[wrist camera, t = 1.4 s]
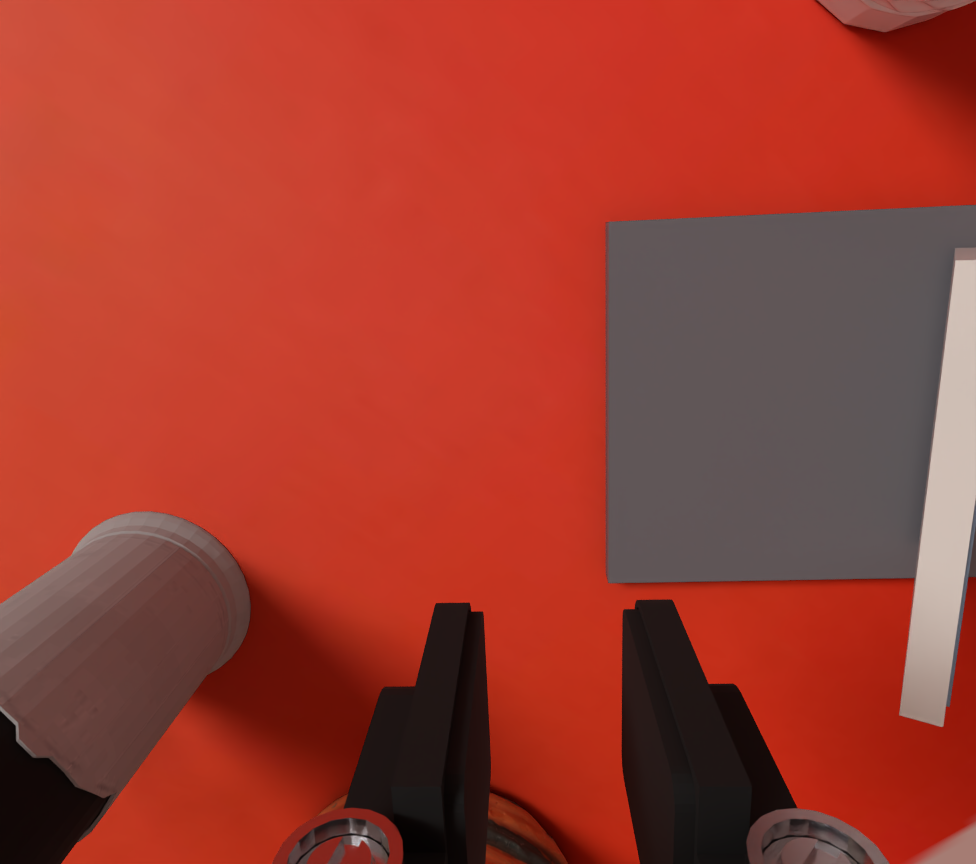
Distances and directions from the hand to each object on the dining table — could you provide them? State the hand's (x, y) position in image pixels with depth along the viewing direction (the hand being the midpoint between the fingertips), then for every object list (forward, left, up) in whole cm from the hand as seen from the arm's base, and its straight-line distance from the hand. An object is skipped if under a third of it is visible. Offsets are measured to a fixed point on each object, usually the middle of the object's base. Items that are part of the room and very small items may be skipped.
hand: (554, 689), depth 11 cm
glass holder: (+20, +10, -19) cm, 30 cm away
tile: (-13, 0, -13) cm, 18 cm away
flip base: (-16, 0, -19) cm, 25 cm away
